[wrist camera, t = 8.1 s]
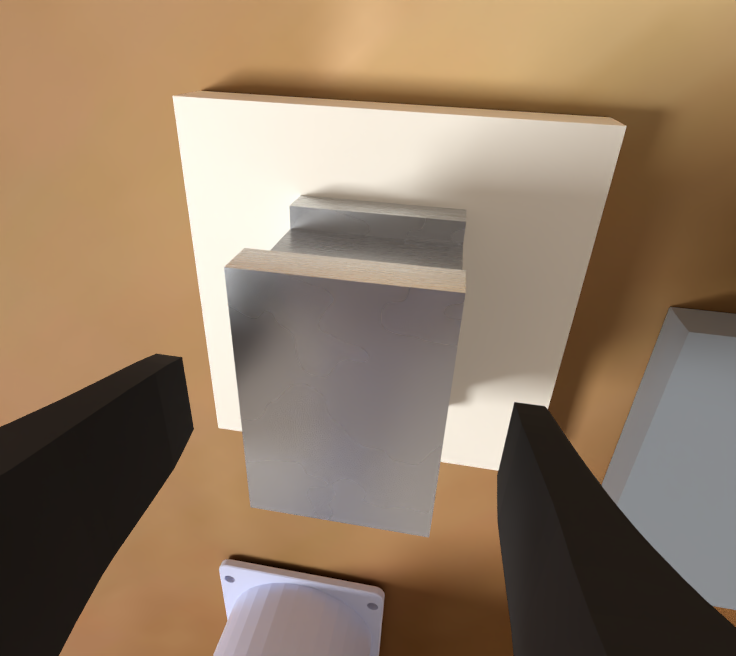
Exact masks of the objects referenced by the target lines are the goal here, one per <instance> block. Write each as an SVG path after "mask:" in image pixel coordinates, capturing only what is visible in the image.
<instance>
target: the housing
mask: <svg viewBox="0 0 736 656" xmlns="http://www.w3.org/2000/svg"><path fill="white" fill-rule="evenodd" d="M289 207H290V230H289V231H288V232H287V233H286V234H285V235H284V236H283V237H282V238H281V239H280V240H279V241H278V243H277V244H276V245H275V246H274V247H273V248H272V249H271V250H260V249H250V248H244V249H243V250H242V251H241V252H240V253H238V254H237V255H236V256H235V257H234V258H233V259H232V260H231V261H230V262H229V263H228V264H227V265H226V266H225V267H224V273H225V282H226V291H227V300H228V309H229V317H230V326H231V335H232V344H233V353H234V362H235V371H236V380H237V389H238V398H239V407H240V416H241V425H242V434H243V443H244V452H245V461H246V470H247V479H248V488H249V497H250V505H251V507H253V508H259V509H265V510H271V511H277V512H283V513H288V514H294V515H300V516H306V517H312V518H318V519H324V520H330V521H336V522H341V523H347V524H353V525H359V526H365V527H371V528H377V529H383V530H389V531H394V532H400V533H406V534H412V535H418V536H424V537H429V534H430V528H431V521H432V514H433V508H434V501H435V494H436V488H437V481H438V474H439V467H440V461H441V454H442V447H443V441H444V434H445V427H446V421H447V414H448V407H449V400H450V394H451V387H452V380H453V374H454V367H455V360H456V354H457V347H458V340H459V333H460V327H461V320H462V313H463V307H464V300H465V293H466V270H462V265H463V242H464V235H465V227H466V210H464V209H453V208H441V207H430V206H418V205H407V204H395V203H383V202H372V201H360V200H349V199H337V198H326V197H314V196H303V195H300V196H299V197H298V198H297V199H296V200H295V201H294V202H293V203H292V204H291V205H290V206H289Z"/></svg>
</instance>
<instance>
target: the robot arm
mask: <svg viewBox="0 0 736 656" xmlns="http://www.w3.org/2000/svg"><path fill="white" fill-rule="evenodd" d="M193 429H194V428H193V422H192V415H191V409H190V403H189V397H188V391H187V385H186V379H185V373H184V367H183V361H182V357H176V356H169V355H161V354H155V355H152V356H150V357H147V358H145V359H143V360H141V361H138V362H136V363H134V364H132V365H130V366H128V367H126V368H124V369H122V370H120V371H118V372H116V373H114V374H112V375H110V376H108V377H106V378H104V379H102V380H100V381H98V382H96V383H94V384H91V385H89V386H87V387H85V388H83V389H81V390H79V391H77V392H75V393H73V394H71V395H69V396H67V397H65V398H63V399H61V400H59V401H57V402H55V403H52V404H50V405H48V406H46V407H44V408H41V409H39V410H37V411H35V412H33V413H30V414H28V415H26V416H24V417H22V418H19V419H17V420H15V421H13V422H11V423H8V424H6V425H4V426H1V427H0V656H59V654H60V652H61V650H62V648H63V646H64V644H65V643H66V641H67V639H68V637H69V635H70V633H71V631H72V629H73V627H74V625H75V623H76V621H77V620H78V618H79V616H80V614H81V612H82V611H83V609H84V607H85V605H86V603H87V602H88V600H89V598H90V596H91V594H92V593H93V591H94V589H95V587H96V585H97V584H98V582H99V580H100V578H101V576H102V575H103V573H104V572H105V570H106V568H107V567H108V565H109V564H110V562H111V561H112V559H113V557H114V556H115V554H116V553H117V551H118V550H119V549H120V547H121V546H122V544H123V543H124V541H125V540H126V538H127V537H128V535H129V534H130V533H131V531H132V530H133V528H134V527H135V525H136V524H137V522H138V521H139V519H140V518H141V517H142V515H143V514H144V512H145V511H146V509H147V508H148V506H149V505H150V504H151V502H152V501H153V499H154V498H155V496H156V495H157V493H158V492H159V490H160V489H161V487H162V486H163V484H164V483H165V481H166V480H167V478H168V477H169V475H170V474H171V472H172V471H173V469H174V468H175V466H176V464H177V462H178V460H179V458H180V456H181V454H182V452H183V450H184V448H185V446H186V444H187V442H188V440H189V438H190V436H191V434H192V432H193ZM497 511H498V529H499V537H500V545H501V553H502V561H503V569H504V577H505V584H506V592H507V600H508V608H509V616H510V623H511V631H512V643H513V654H514V656H736V627H735V626H734V625H732V624H731V623H730V622H729V621H728V620H727V619H726V618H725V617H724V616H723V615H721V614H720V613H719V612H718V611H717V610H716V609H715V608H714V607H713V606H712V605H711V604H709V603H708V602H707V601H706V600H705V599H704V598H703V597H702V596H701V595H700V594H699V593H698V592H697V591H696V590H695V589H694V588H693V587H692V586H691V585H690V584H688V583H687V582H686V581H685V580H684V579H683V578H682V577H681V576H680V574H679V573H678V572H677V571H676V570H675V569H674V568H673V567H672V566H671V565H670V564H669V563H668V562H667V561H666V560H665V559H664V558H663V557H662V556H661V555H660V554H659V553H658V552H657V551H656V550H655V549H654V548H653V547H652V545H651V544H650V543H649V542H648V541H647V540H646V539H645V538H644V537H643V536H642V534H641V533H640V532H639V531H638V530H637V529H636V528H635V526H634V525H633V524H632V523H631V522H630V520H629V519H628V518H627V517H626V516H625V515H624V513H623V512H622V511H621V510H620V509H619V507H618V506H617V505H616V504H615V502H614V501H613V500H612V499H611V497H610V496H609V495H608V494H607V492H606V491H605V490H604V488H603V487H602V486H601V484H600V483H599V482H598V480H597V479H596V478H595V476H594V475H593V474H592V472H591V471H590V470H589V468H588V467H587V466H586V464H585V463H584V461H583V460H582V459H581V457H580V456H579V455H578V453H577V452H576V450H575V449H574V447H573V446H572V444H571V443H570V442H569V440H568V439H567V437H566V436H565V434H564V433H563V431H562V430H561V428H560V427H559V425H558V424H557V422H556V421H555V419H554V418H553V416H552V415H551V413H550V412H549V410H548V409H547V408H546V407H545V406H540V405H533V404H525V403H518V402H514V406H513V410H512V414H511V419H510V423H509V427H508V432H507V436H506V440H505V444H504V449H503V453H502V457H501V462H500V466H499V470H498V475H497ZM219 572H220V578H221V583H222V589H223V595H224V601H225V607H226V613H227V619H228V621H227V623H226V626H225V628H224V631H223V633H222V635H221V638H220V640H219V643H218V645H217V648H216V650H215V652H214V655H213V656H379V650H380V640H381V629H382V619H383V608H384V598H385V594H384V592H383V590H382V589H380V588H379V587H376V586H371V585H366V584H360V583H355V582H350V581H344V580H339V579H334V578H328V577H323V576H318V575H312V574H307V573H301V572H296V571H291V570H285V569H280V568H275V567H269V566H264V565H259V564H253V563H248V562H242V561H237V560H232V559H227V560H224V561H223V562H222V563H221V566H220V568H219Z"/></svg>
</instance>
